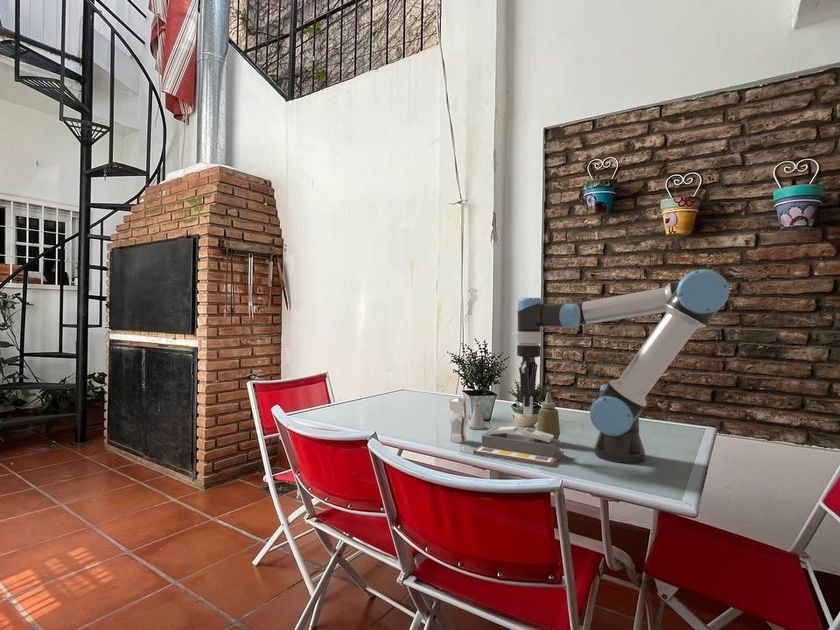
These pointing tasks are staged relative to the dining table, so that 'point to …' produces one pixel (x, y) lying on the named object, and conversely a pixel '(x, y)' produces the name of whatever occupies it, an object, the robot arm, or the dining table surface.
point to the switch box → (520, 448)
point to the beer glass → (458, 419)
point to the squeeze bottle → (549, 418)
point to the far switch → (503, 430)
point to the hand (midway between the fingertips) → (527, 415)
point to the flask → (477, 418)
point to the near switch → (538, 434)
